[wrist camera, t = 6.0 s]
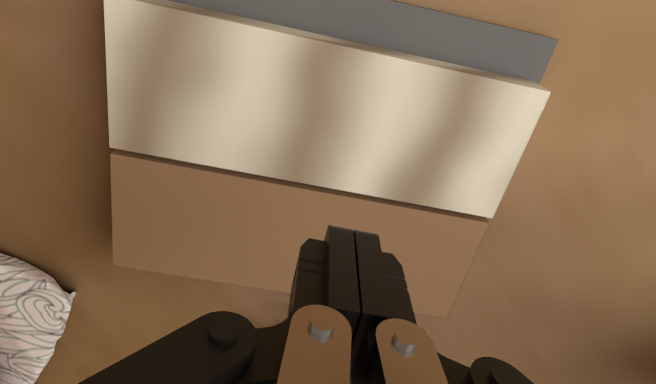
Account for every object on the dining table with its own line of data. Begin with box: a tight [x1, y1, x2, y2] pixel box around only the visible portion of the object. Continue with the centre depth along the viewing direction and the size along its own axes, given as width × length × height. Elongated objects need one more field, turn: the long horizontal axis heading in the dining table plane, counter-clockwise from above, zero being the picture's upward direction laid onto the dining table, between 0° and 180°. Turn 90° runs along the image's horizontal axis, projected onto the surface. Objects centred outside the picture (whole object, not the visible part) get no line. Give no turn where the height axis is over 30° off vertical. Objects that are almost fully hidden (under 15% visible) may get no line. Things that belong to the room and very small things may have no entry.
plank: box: [104, 0, 551, 218], centre depth 21 cm, size 20×7×2 cm, turn 78°
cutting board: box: [110, 0, 558, 318], centre depth 23 cm, size 21×17×3 cm
